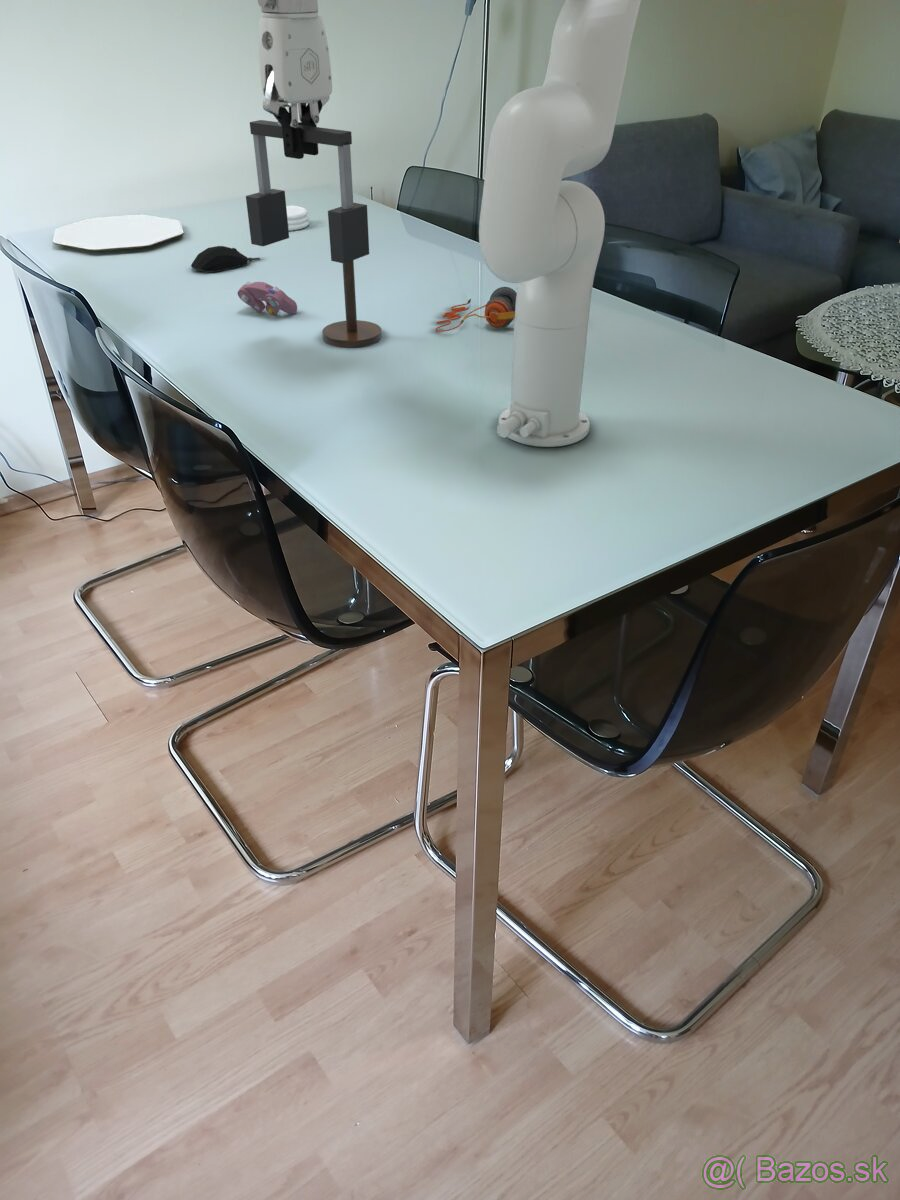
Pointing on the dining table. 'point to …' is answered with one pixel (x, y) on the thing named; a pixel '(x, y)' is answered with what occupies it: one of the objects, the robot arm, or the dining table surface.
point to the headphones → (489, 309)
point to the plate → (117, 232)
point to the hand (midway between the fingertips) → (301, 154)
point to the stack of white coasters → (297, 217)
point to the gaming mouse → (219, 259)
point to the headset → (271, 204)
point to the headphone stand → (351, 320)
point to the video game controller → (266, 298)
